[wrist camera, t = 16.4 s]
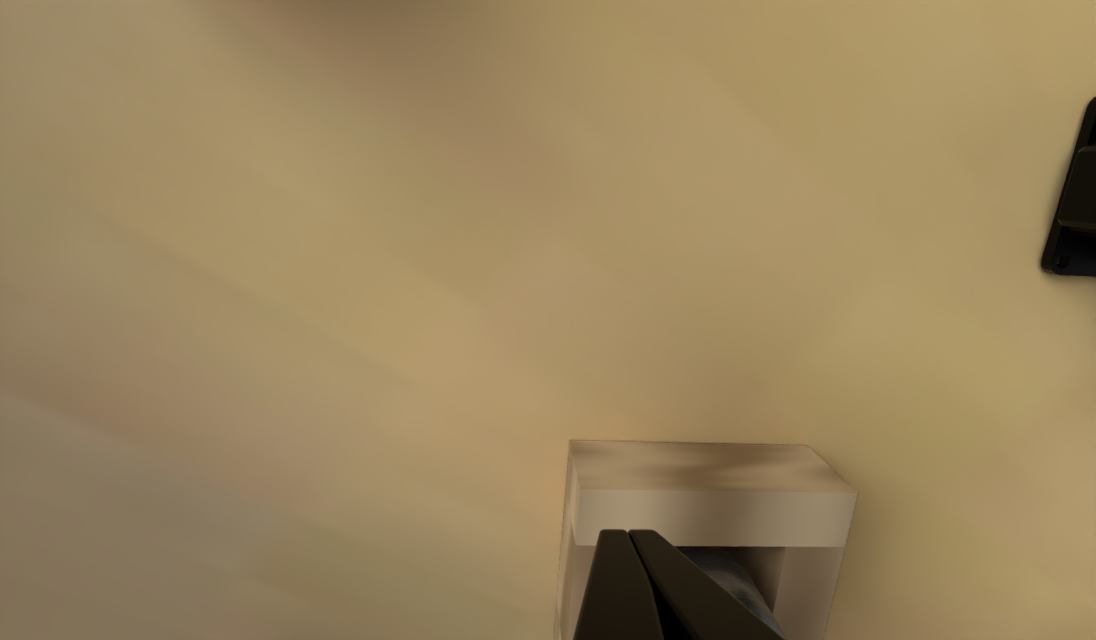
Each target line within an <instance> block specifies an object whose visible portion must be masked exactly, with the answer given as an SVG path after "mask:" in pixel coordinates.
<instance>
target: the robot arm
mask: <svg viewBox="0 0 1096 640" xmlns="http://www.w3.org/2000/svg"><path fill="white" fill-rule="evenodd" d="M1059 258H1060V261H1059V263H1058V264H1057V261H1058V259H1059ZM1041 266H1042V269H1043V270H1044V271H1045V272H1049V273H1053V274H1058V275H1075V276H1094V277H1096V97H1094V98H1093V99H1092V100H1091V102H1090V103H1089V105H1088V107H1087V110H1086V113H1085V117H1084V120H1083V123H1082V127H1081V130H1080V133H1079V137H1078V140H1077V143H1076V147H1075V150H1074V153H1073V157H1072V160H1071V163H1070V167H1069V170H1068V173H1067V177H1066V180H1065V183H1064V187H1063V190H1062V193H1061V197H1060V200H1059V203H1058V207H1057V210H1056V213H1055V217H1054V220H1053V223H1052V227H1051V230H1050V233H1049V237H1048V240H1047V243H1046V247H1045V250H1044V253H1043V257H1042V261H1041ZM573 640H785V639H784V638H783V637H781V636H780V635H779V634H778V633H777V632H776V631H774V630H773V629H772V628H771V627H770V626H768V625H767V624H766V623H765V622H764V621H762V620H761V619H760V618H759V617H758V616H756V615H755V614H754V613H753V612H752V611H751V610H749V609H748V608H747V607H746V606H745V605H743V604H742V603H741V602H740V601H739V600H737V599H736V598H735V597H734V596H733V595H731V594H730V593H729V592H728V591H727V590H726V589H724V588H723V587H722V586H721V585H720V584H718V583H717V582H716V581H715V580H714V579H712V578H711V577H710V576H709V575H708V574H706V573H705V572H704V571H703V570H702V569H701V568H699V567H698V566H697V565H696V564H695V563H693V562H692V561H691V560H690V559H689V558H687V557H686V556H685V555H684V554H683V553H681V552H680V551H679V550H678V549H677V548H676V547H674V546H673V545H672V544H671V543H670V542H668V541H667V540H666V539H665V538H664V537H662V536H661V535H660V534H659V533H658V532H656V531H655V530H652V529H631V530H629V531H628V532H627V531H626V530H623V529H602V530H601V531H600V532H599V536H598V540H597V544H596V548H595V552H594V556H593V560H592V564H591V568H590V572H589V576H588V580H587V584H586V588H585V592H584V596H583V600H582V604H581V608H580V612H579V616H578V620H577V624H576V628H575V632H574V636H573Z"/></svg>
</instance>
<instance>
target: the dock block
mask: <svg viewBox="0 0 1096 640" xmlns="http://www.w3.org/2000/svg"><path fill="white" fill-rule="evenodd" d="M857 496H858V493H857V492H856V491H855V490H854V489H853V488H852V487H851V486H850V485H849V484H848V483H847V482H846V481H845V480H844V479H843V478H841V477H840V476H839V475H838V474H837V473H836V472H835V471H834V470H833V469H832V468H831V467H830V466H829V465H828V464H827V463H826V462H824V461H823V460H822V459H821V458H820V457H819V456H818V455H817V454H816V453H815V452H814V451H813V450H812V449H811V448H810V447H809V446H807V445H764V444H717V443H671V442H624V441H578V440H570V441H569V453H568V466H567V479H566V491H565V504H564V517H563V529H562V542H561V555H560V567H559V580H558V593H557V605H556V618H555V631H554V640H573V636H574V632H575V628H576V624H577V620H578V616H579V612H580V608H581V604H582V600H583V596H584V592H585V588H586V584H587V580H588V576H589V572H590V568H591V564H592V560H593V556H594V552H595V548H596V544H597V540H598V536H599V532H600V531H601V530H602V529H623V530H626V531H627V532H628V531H629V530H631V529H652V530H655V531H656V532H658V533H659V534H660V535H661V536H662V537H664V538H665V539H666V540H667V541H668V542H670V543H671V544H672V545H673V546H737V551H736V553H737V555H738V557H739V558H740V560H741V562H742V563H743V565H744V567H745V568H746V570H747V572H748V574H749V575H750V577H751V579H752V580H753V582H754V584H755V585H756V587H757V589H758V591H759V592H760V594H761V596H762V597H763V599H764V601H765V602H766V604H767V606H768V608H769V609H770V611H771V613H772V614H773V616H774V618H775V620H776V621H777V623H778V625H779V626H780V628H781V630H782V631H783V633H784V635H785V637H786V638H787V640H823V638H824V634H825V630H826V626H827V622H828V617H829V613H830V609H831V605H832V601H833V596H834V592H835V588H836V584H837V580H838V575H839V571H840V567H841V563H842V559H843V554H844V550H845V546H846V542H847V538H848V533H849V529H850V525H851V521H852V517H853V512H854V508H855V504H856V500H857Z"/></svg>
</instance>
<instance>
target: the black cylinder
mask: <svg viewBox="0 0 1096 640" xmlns="http://www.w3.org/2000/svg"><path fill="white" fill-rule="evenodd" d="M674 547H676V548H677V549H678V550H679V551H680V552H681V553H683V554H684V555H685V556H686V557H687V558H689V559H690V560H691V561H692V562H693V563H695V564H696V565H697V566H698V567H699V568H701V569H702V570H703V571H704V572H705V573H706V574H708V575H709V576H710V577H711V578H712V579H714V580H715V581H716V582H717V583H718V584H720V585H721V586H722V587H723V588H724V589H726V590H727V591H728V592H729V593H730V594H731V595H733V596H734V597H735V598H736V599H737V600H739V601H740V602H741V603H742V604H743V605H745V606H746V607H747V608H748V609H749V610H751V611H752V612H753V613H754V614H755V615H756V616H758V617H759V618H760V619H761V620H762V621H764V622H765V623H766V624H767V625H768V626H770V627H771V628H772V629H773V630H774V631H776V632H777V633H778V634H779V635H780V636H781V637H783V638H784V639H785V640H787V638H786V637H785V635H784V633H783V631H782V630H781V628H780V626H779V625H778V623H777V621H776V620H775V618H774V616H773V614H772V613H771V611H770V609H769V608H768V606H767V604H766V602H765V601H764V599H763V597H762V596H761V594H760V592H759V591H758V589H757V587H756V585H755V584H754V582H753V580H752V579H751V577H750V575H749V574H748V572H747V570H746V568H745V567H744V565H743V563H742V562H741V560H740V558H739V557H738V555H737V553H736V551H735V550H734V548H733V546H674Z"/></svg>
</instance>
